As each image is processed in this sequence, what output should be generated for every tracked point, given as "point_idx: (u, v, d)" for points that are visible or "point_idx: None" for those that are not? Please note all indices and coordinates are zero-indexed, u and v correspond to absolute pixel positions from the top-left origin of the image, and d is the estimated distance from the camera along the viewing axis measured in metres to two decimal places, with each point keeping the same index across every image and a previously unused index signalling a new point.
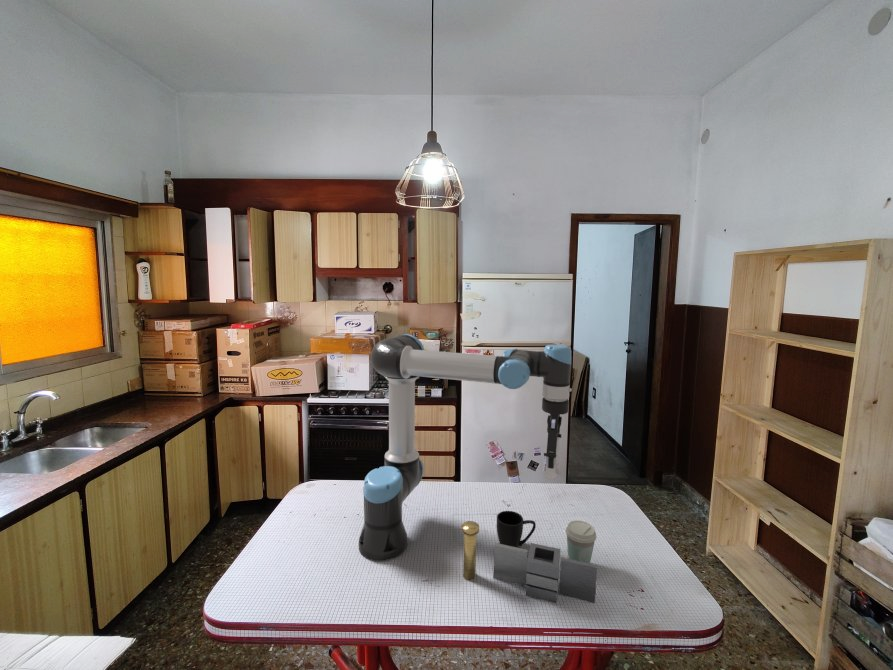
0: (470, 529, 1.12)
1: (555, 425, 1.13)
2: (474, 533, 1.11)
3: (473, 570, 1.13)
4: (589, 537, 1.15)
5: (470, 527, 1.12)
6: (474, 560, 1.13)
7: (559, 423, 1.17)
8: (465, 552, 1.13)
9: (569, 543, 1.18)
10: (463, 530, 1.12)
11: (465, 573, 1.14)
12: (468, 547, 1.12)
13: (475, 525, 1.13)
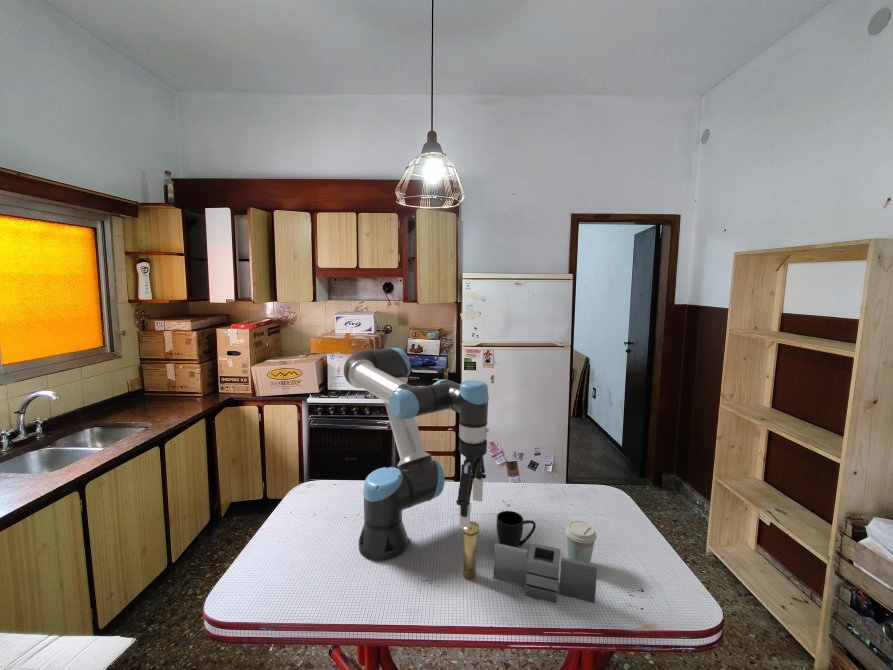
0: (470, 529, 1.12)
1: (467, 470, 1.04)
2: (474, 533, 1.11)
3: (473, 570, 1.13)
4: (589, 537, 1.15)
5: (470, 527, 1.12)
6: (474, 560, 1.13)
7: (475, 466, 1.08)
8: (465, 552, 1.13)
9: (569, 543, 1.18)
10: (463, 530, 1.12)
11: (465, 573, 1.14)
12: (468, 547, 1.12)
13: (475, 525, 1.13)
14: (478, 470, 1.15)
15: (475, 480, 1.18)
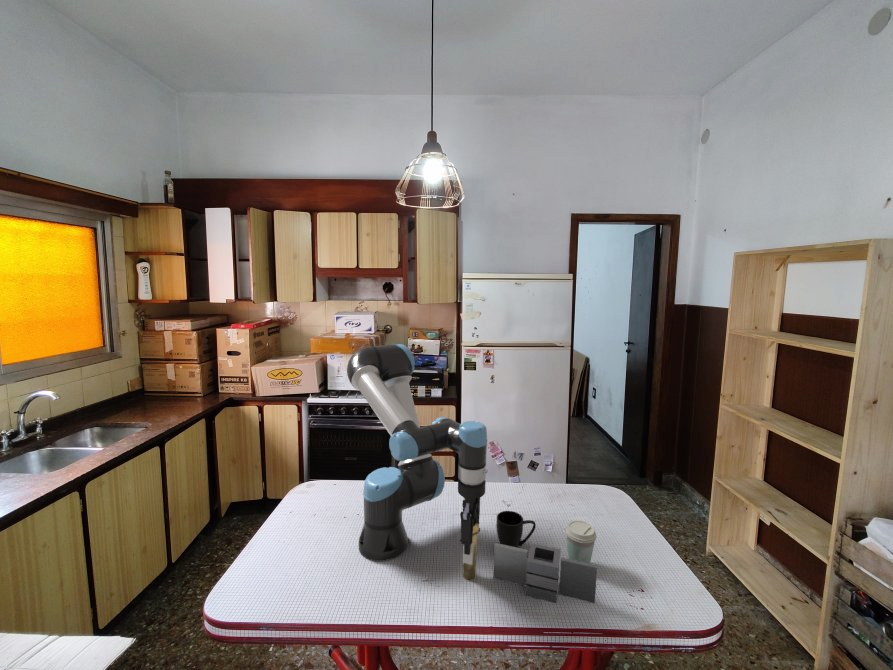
0: None
1: (466, 518, 1.06)
2: (474, 533, 1.11)
3: (473, 570, 1.13)
4: (589, 537, 1.15)
5: None
6: (474, 560, 1.13)
7: (474, 508, 1.10)
8: None
9: (569, 543, 1.18)
10: None
11: (465, 573, 1.14)
12: None
13: (475, 525, 1.13)
14: None
15: None
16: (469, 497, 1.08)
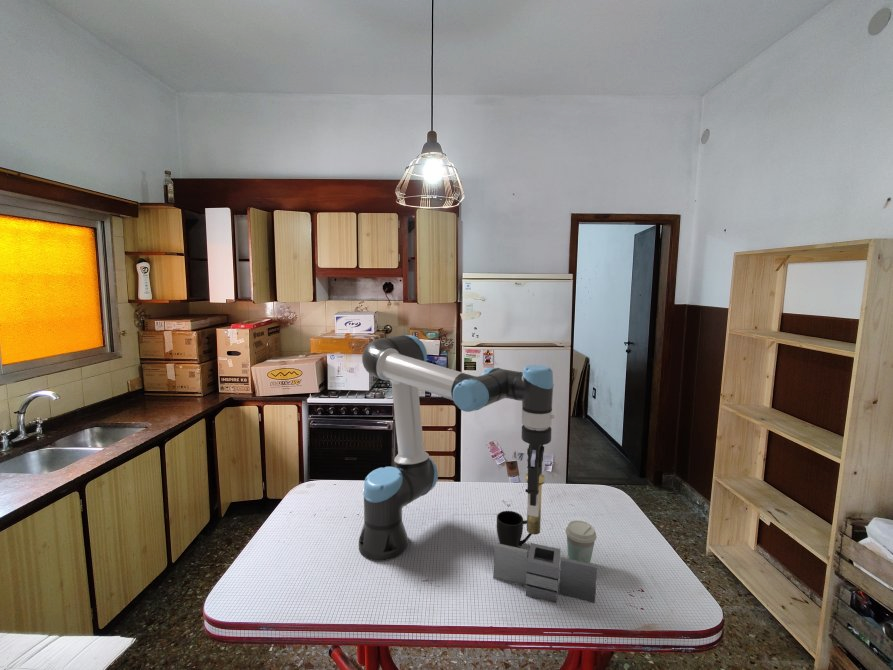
0: None
1: (534, 465, 1.00)
2: (540, 483, 1.05)
3: (538, 523, 1.07)
4: (589, 537, 1.15)
5: None
6: (539, 513, 1.07)
7: (540, 456, 1.04)
8: None
9: (569, 543, 1.18)
10: None
11: (530, 527, 1.07)
12: None
13: (540, 476, 1.07)
14: None
15: None
16: (536, 443, 1.02)
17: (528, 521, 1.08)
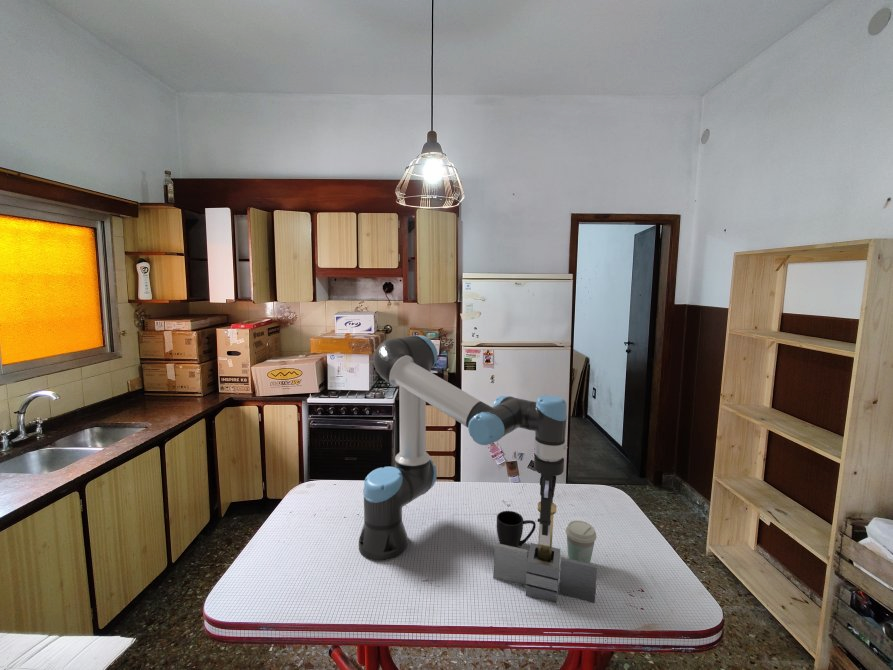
0: None
1: (548, 496, 1.01)
2: (552, 513, 1.05)
3: (550, 552, 1.08)
4: (589, 537, 1.15)
5: None
6: (551, 541, 1.08)
7: (553, 486, 1.04)
8: None
9: (569, 543, 1.18)
10: None
11: (541, 555, 1.08)
12: None
13: (552, 505, 1.08)
14: None
15: None
16: (549, 474, 1.03)
17: (539, 549, 1.08)
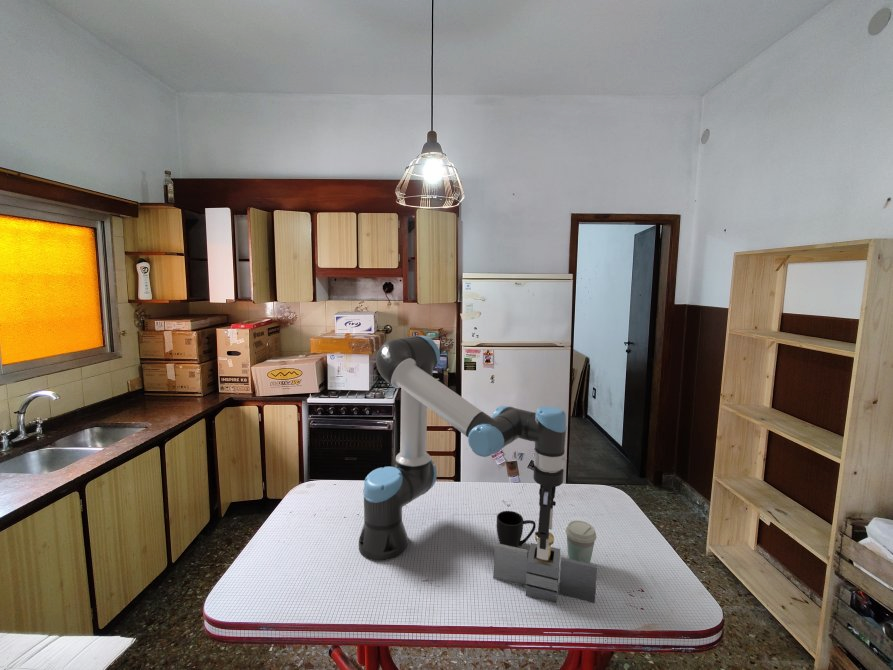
0: None
1: (547, 501, 1.00)
2: (550, 543, 1.07)
3: None
4: (589, 537, 1.15)
5: None
6: None
7: (552, 496, 1.04)
8: None
9: (569, 543, 1.18)
10: None
11: None
12: None
13: (549, 535, 1.10)
14: None
15: None
16: (548, 485, 1.03)
17: None
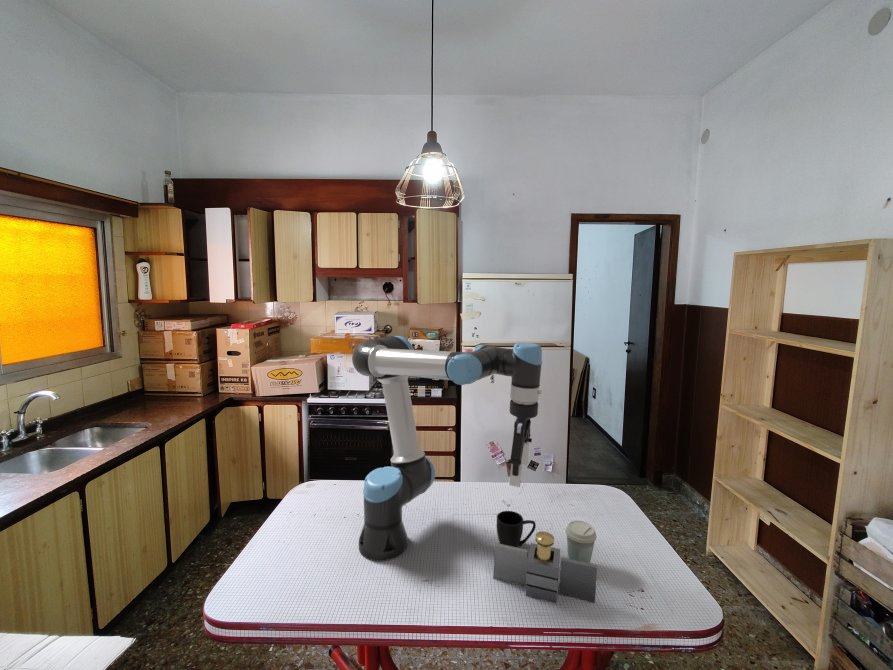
0: (546, 540, 1.07)
1: (520, 430, 1.04)
2: (550, 544, 1.07)
3: None
4: (589, 537, 1.15)
5: (545, 538, 1.08)
6: None
7: (527, 427, 1.09)
8: None
9: (569, 543, 1.18)
10: (538, 541, 1.08)
11: None
12: (543, 559, 1.08)
13: (550, 536, 1.09)
14: None
15: None
16: (523, 416, 1.07)
17: None
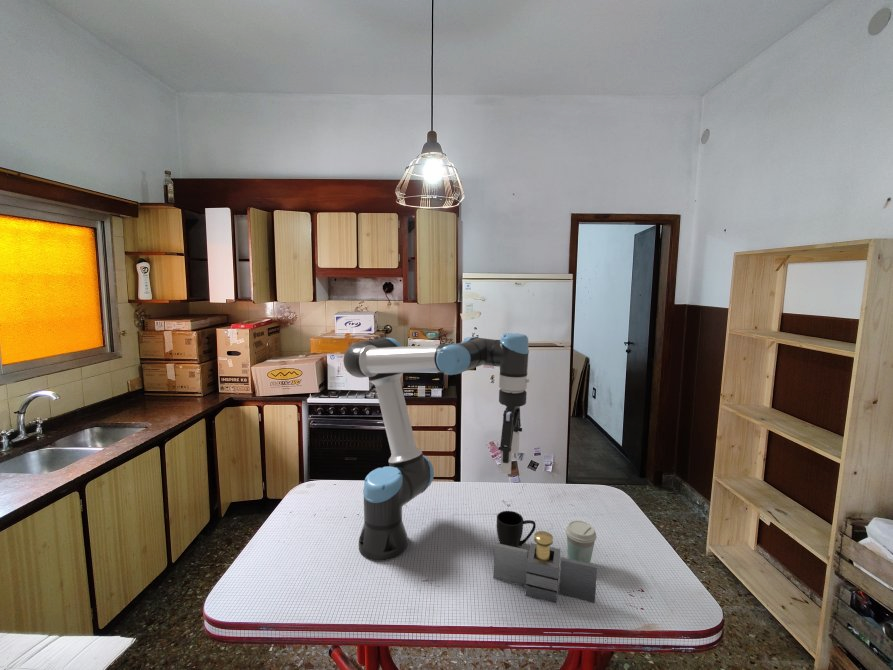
0: (544, 539, 1.07)
1: (509, 418, 1.07)
2: (549, 544, 1.07)
3: None
4: (589, 537, 1.15)
5: (544, 537, 1.08)
6: None
7: (516, 416, 1.11)
8: None
9: (569, 543, 1.18)
10: (537, 541, 1.08)
11: None
12: (542, 558, 1.08)
13: (548, 535, 1.09)
14: (516, 422, 1.18)
15: (512, 433, 1.21)
16: (511, 405, 1.10)
17: None
